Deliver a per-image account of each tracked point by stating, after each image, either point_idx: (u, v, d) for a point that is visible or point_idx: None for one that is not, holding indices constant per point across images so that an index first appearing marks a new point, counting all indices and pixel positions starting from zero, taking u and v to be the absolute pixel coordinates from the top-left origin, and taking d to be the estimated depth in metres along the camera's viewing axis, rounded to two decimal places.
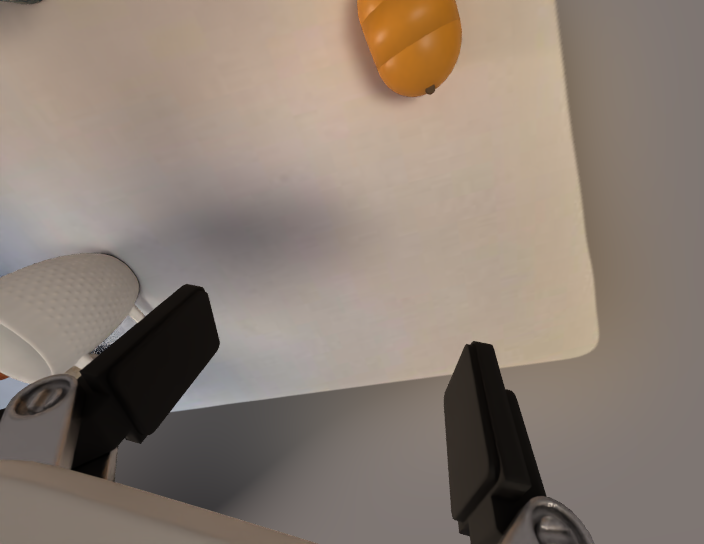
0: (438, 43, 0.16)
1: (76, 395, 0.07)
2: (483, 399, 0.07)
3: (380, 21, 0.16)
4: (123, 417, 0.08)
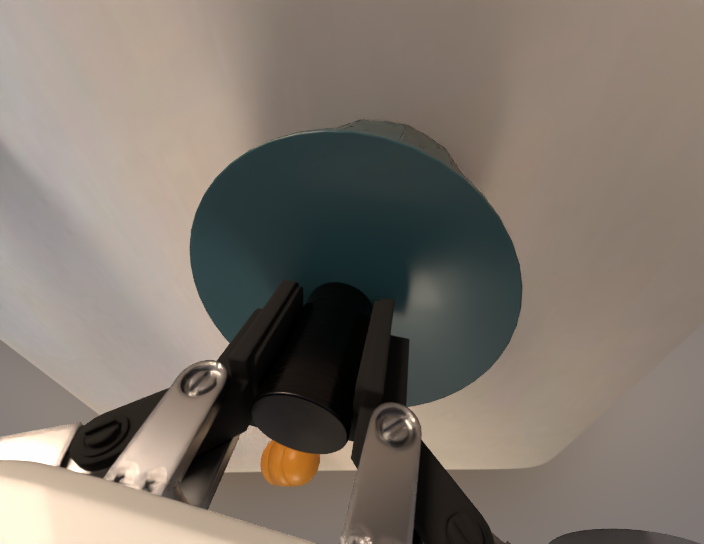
0: None
1: (228, 379, 0.07)
2: (370, 338, 0.09)
3: (280, 473, 0.33)
4: (252, 401, 0.09)
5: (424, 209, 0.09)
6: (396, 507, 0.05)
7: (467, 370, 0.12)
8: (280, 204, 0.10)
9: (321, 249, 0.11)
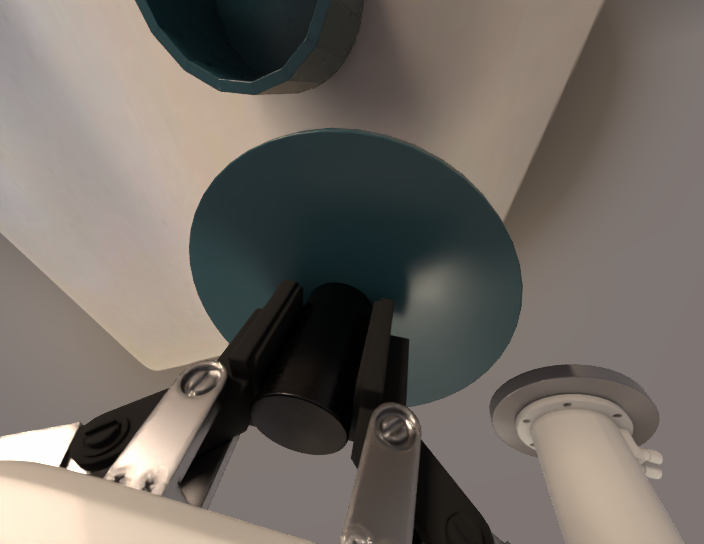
0: None
1: (228, 379, 0.07)
2: (370, 338, 0.09)
3: None
4: None
5: (424, 209, 0.09)
6: (396, 507, 0.05)
7: (467, 370, 0.12)
8: (279, 204, 0.10)
9: (320, 249, 0.11)
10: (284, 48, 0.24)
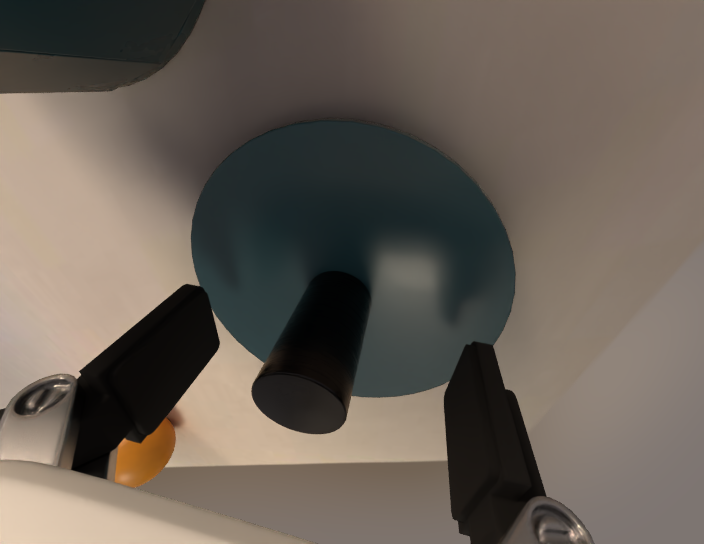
0: None
1: (76, 395, 0.07)
2: (483, 399, 0.07)
3: None
4: (123, 418, 0.08)
5: (420, 197, 0.09)
6: None
7: None
8: (279, 193, 0.10)
9: (319, 238, 0.11)
10: None
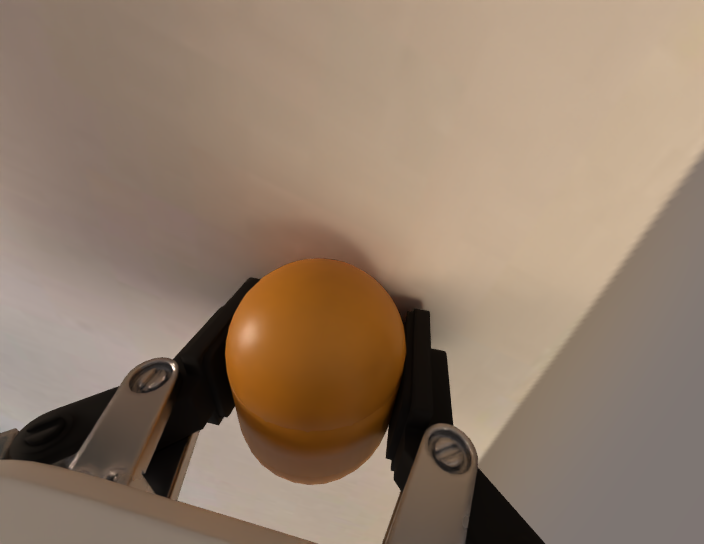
0: (329, 481, 0.08)
1: (179, 376, 0.07)
2: (410, 352, 0.08)
3: (242, 414, 0.07)
4: (210, 399, 0.08)
5: None
6: (464, 543, 0.05)
7: None
8: None
9: None
10: None
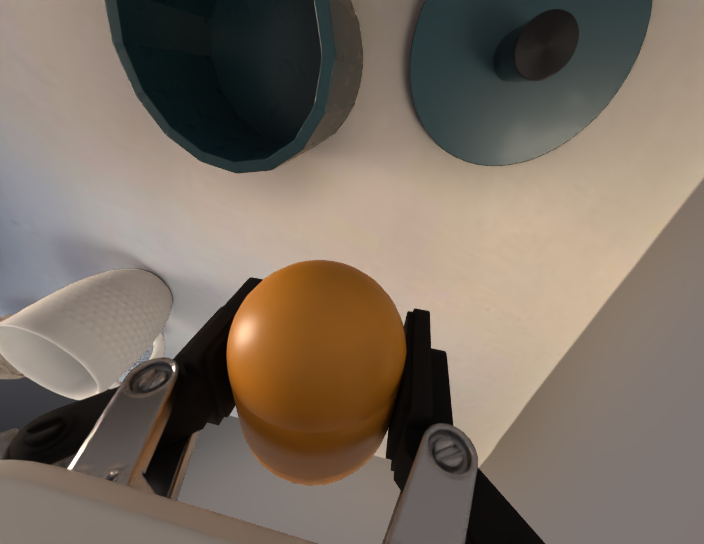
0: (330, 482, 0.08)
1: (179, 376, 0.07)
2: (410, 352, 0.08)
3: (243, 415, 0.07)
4: (210, 399, 0.08)
5: None
6: (464, 543, 0.05)
7: None
8: (441, 44, 0.19)
9: (476, 38, 0.18)
10: (314, 91, 0.22)
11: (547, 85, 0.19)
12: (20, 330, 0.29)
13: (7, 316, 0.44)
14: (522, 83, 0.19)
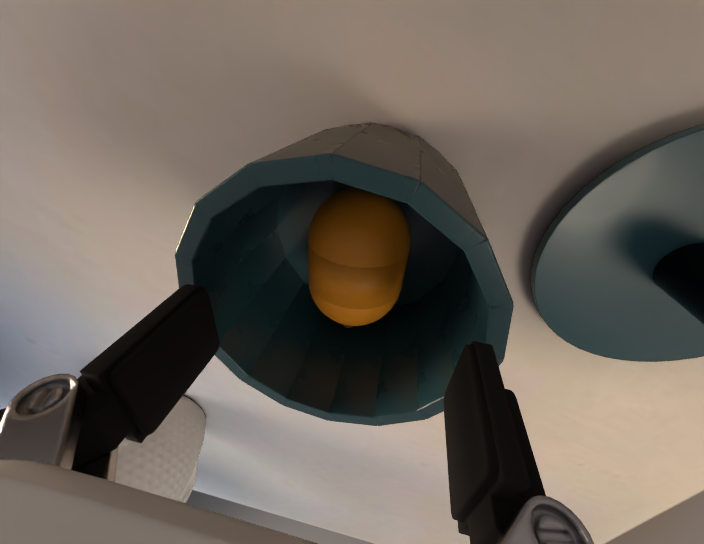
0: (366, 316, 0.14)
1: (77, 395, 0.07)
2: (483, 399, 0.07)
3: (320, 268, 0.14)
4: (124, 417, 0.08)
5: (694, 164, 0.12)
6: None
7: None
8: (585, 248, 0.15)
9: (635, 246, 0.14)
10: None
11: None
12: None
13: None
14: None
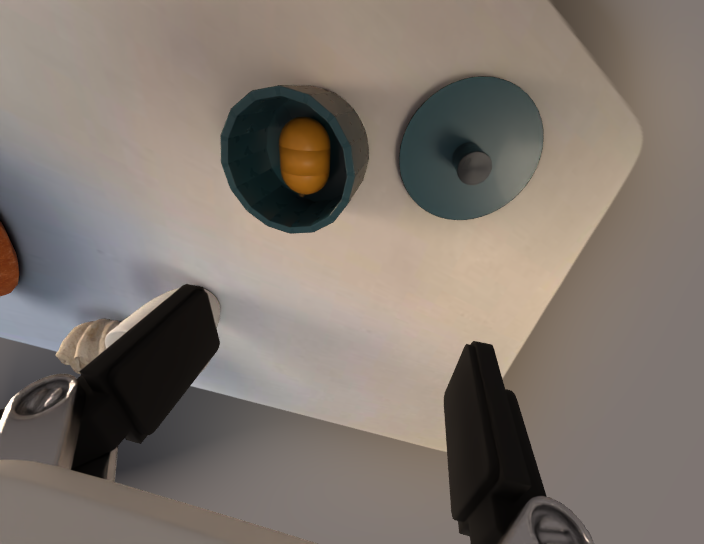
0: (306, 182, 0.29)
1: (76, 395, 0.07)
2: (483, 399, 0.07)
3: (283, 154, 0.28)
4: (123, 417, 0.08)
5: (451, 101, 0.27)
6: None
7: (532, 120, 0.26)
8: (419, 149, 0.29)
9: (440, 146, 0.29)
10: (336, 170, 0.33)
11: None
12: (121, 334, 0.40)
13: (85, 323, 0.55)
14: None
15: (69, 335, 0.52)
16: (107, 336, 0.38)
